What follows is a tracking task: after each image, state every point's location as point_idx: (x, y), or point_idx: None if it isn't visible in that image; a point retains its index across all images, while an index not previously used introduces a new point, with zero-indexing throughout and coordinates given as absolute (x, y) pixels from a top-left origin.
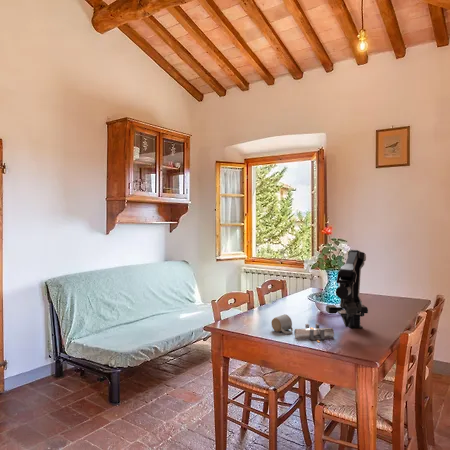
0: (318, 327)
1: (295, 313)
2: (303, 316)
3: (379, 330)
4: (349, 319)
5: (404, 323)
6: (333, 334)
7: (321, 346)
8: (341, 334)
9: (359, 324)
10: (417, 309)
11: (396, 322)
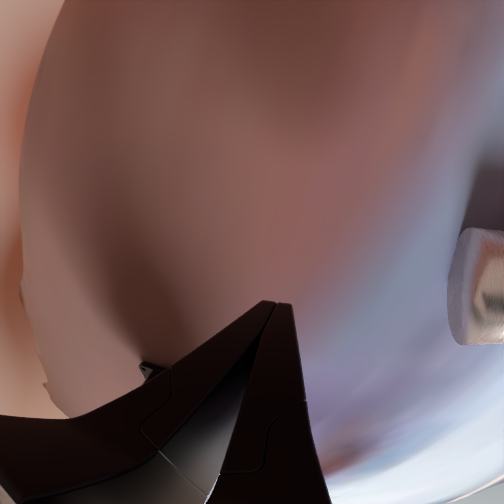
0: None
1: (379, 494)
2: (372, 485)
3: (74, 309)
4: (167, 395)
5: (37, 337)
6: (484, 233)
7: None
8: (325, 306)
9: (145, 381)
10: (49, 387)
11: (53, 353)
